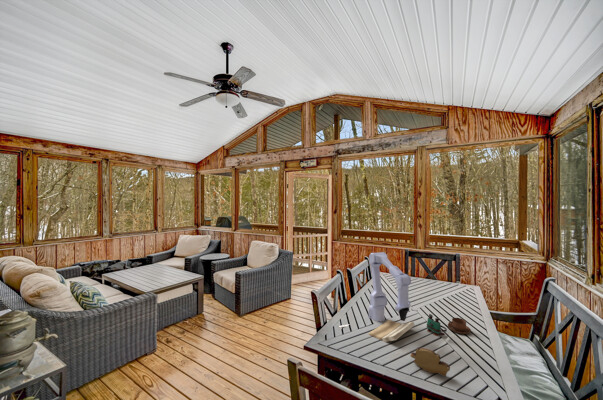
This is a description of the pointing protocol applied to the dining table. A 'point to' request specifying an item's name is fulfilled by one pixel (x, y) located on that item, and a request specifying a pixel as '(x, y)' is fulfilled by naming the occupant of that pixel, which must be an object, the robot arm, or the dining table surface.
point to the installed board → (384, 329)
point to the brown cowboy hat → (459, 326)
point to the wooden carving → (430, 361)
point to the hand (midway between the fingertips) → (402, 320)
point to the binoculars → (435, 326)
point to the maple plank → (398, 332)
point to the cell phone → (343, 326)
